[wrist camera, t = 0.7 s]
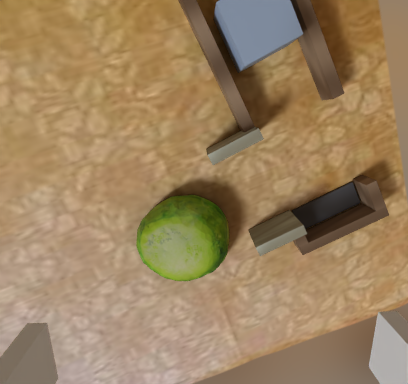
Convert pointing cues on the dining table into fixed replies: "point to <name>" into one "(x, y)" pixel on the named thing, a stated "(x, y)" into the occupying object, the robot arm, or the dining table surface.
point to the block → (255, 28)
